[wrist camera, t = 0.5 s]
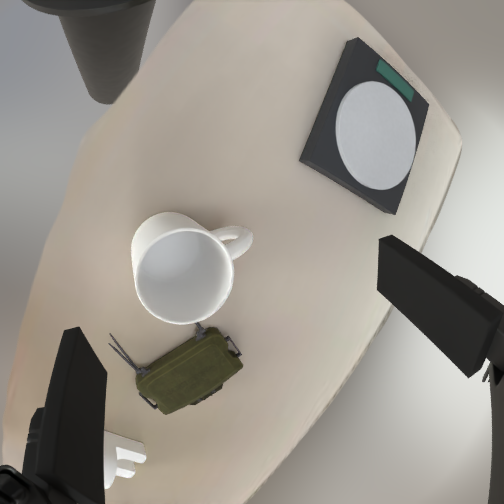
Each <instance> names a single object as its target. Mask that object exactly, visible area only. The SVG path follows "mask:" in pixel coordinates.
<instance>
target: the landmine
mask: <svg viewBox="0 0 504 504" xmlns="http://www.w3.org/2000/svg"><path fill="white" fill-rule="evenodd" d="M195 324H196V325H197V326H198V328H199V329H200V330H199V331H198V332H197V336H195V337H194V338H192V339H190V340H189V341H187V342H186V343H184V344H183V345H181V346H179V347H178V348H176V349H175V350H173V351H172V352H170V353H168V354H167V355H165V356H164V357H162V358H160V359H159V360H157V361H156V362H154V363H152V364H151V365H150V366H148V367H147V368H144V367H142V368H139V369H138V367H137V366H136V365H135V364H134V363H133V361H132V360H131V359H130V358H129V357H128V355H127V354H126V353H125V352H124V350H123V349H122V348H121V346H120V345H119V344H118V343H117V341H116V340H115V339H114V337H113V336H112V335H111V334H110V336H111V337H112V339H113V340H114V341H115V343H116V344H117V346H118V347H119V348H120V350H121V351H122V352H123V354H124V355H125V356H126V357H127V358H128V360H129V361H130V362H131V363H132V364H131V363H130V362H129V361H128V360H127V359H126V358H125V357H124V356H123V355H122V354H121V353H120V352H119V351H118V350H117V349H116V348H115V347H113V346H112V345H111V344H110V343H108V344H109V345H110V346H111V347H112V348H113V349H114V350H115V351H116V352H117V353H118V354H119V355H120V356H121V357H122V358H123V359H124V360H125V361H126V362H127V363H128V364H129V365H130V366H131V367H132V368H133V369H134V370H135V371H136V373H137V376H136V385H137V389H138V390H139V391H140V392H139V395H140V396H141V397H142V398H143V399H144V400H145V401H146V402H147V403H148V404H149V405H150V406H151V407H153V408H154V409H157V408H158V409H159V410H160V411H161V412H162V413H163V414H165V415H167V414H170V413H172V412H174V411H176V410H179V409H181V408H183V407H185V406H187V405H196V404H198V403H199V402H201V401H202V400H205V399H206V398H208V397H209V396H212V394H214V393H216V392H217V391H219V390H220V389H222V386H223V383H224V382H225V381H227V380H228V379H229V378H230V377H232V376H233V375H234V374H236V373H237V372H238V371H239V370H240V369H242V368H243V364H242V363H241V361H240V360H239V358H238V357H239V356H241V355H242V354H241V353H240V351H239V350H238V348H237V347H236V346H235V344H234V343H233V341H232V340H231V338H230V337H229V336H227V337H226V338H224V337H223V336H222V334H221V333H220V332H219V330H218V329H217V328H213V327H212V328H208V329H206V330H205V329H204V328H202V327H201V326H200V324H199V323H198V322H197V323H195ZM199 326H200V327H199ZM229 340H230V341H231V342H232V343H233V345H234V346H235V348H236V349H237V351H238V353H237V354H235V352H233V351H228V343H227V341H229ZM147 398H151V399H153V400H154V401H155V402H156V403H157V404H156V405H153V404H152V403H151V402H150V401H149V400H148V399H147Z"/></svg>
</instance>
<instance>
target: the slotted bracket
mask: <svg viewBox="0 0 504 504" xmlns="http://www.w3.org/2000/svg"><path fill="white" fill-rule="evenodd" d="M145 460H146V453H145V448H144V444H143V443H141V442H138V441H135V440H131V439H128V438H125V437H122V436H119V435H116V434H113V433H110V432H108V431H105V430H104V489H108V488H109V487H110V486H111V485H112V483H113V481H114V478H115V475H117V476H121V477H125V478H131V477H132V476H133V475H134V474H135V473H136V471H135V466H134V462H138V463H142V464H143V462H144V461H145Z"/></svg>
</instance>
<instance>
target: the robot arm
mask: <svg viewBox="0 0 504 504" xmlns="http://www.w3.org/2000/svg"><path fill="white" fill-rule="evenodd" d="M377 290H378V291H379V292H380V293H381V294H382V295H383V296H384V297H385V298H386V299H387V300H389V301H390V302H391V303H392V304H393V305H394V306H395V307H396V308H397V309H398V310H399V311H400V312H401V313H402V314H404V315H405V316H406V317H407V318H408V319H409V320H410V321H411V322H412V323H413V324H414V325H415V326H416V327H417V328H418V329H419V330H420V331H421V332H422V333H424V335H426V336H427V337H428V338H429V339H430V340H431V341H432V342H433V343H434V344H435V345H436V346H437V347H438V348H439V349H440V350H441V351H442V352H443V353H444V354H445V355H446V356H447V357H448V358H449V359H450V360H451V361H452V362H453V363H454V364H455V365H456V366H457V367H458V368H459V369H460V370H461V371H462V372H463V373H464V374H465V375H466V376H467V377H468V378H469V377H471V376H472V375H474V374H475V373H476V372H478V371H479V370H480V369H481V368H482V365H483V363H484V361H485V359H486V358H487V359H488V360H489V361H490V364H489V366H488V368H487V370H486V372H485V374H484V377H483V380H482V382H485V380H486V378H487V376H488V374H489V381H488V382H490V391H491V407H492V462H491V478H490V490H489V499H488V504H504V305H502V304H501V303H500V302H498V301H497V300H496V299H494V298H493V297H492V296H490V295H489V294H487V293H485V292H484V290H482V289H481V288H478V287H477V285H475V284H474V283H472V282H471V281H470V280H468V279H465V278H463V277H460V276H455V277H454V276H453V275H452V274H450V273H449V272H447V271H446V270H445V269H443V268H442V267H440V266H439V265H437V264H436V263H434V262H433V261H431V260H430V259H428V258H427V257H425V256H424V255H423V254H421V253H420V252H418V251H416V250H415V249H413V248H412V247H410V246H409V245H407V244H406V243H404V242H403V241H401V240H400V239H398V238H396V237H395V236H393V235H390V236H386V237H383V238H380V239H379V255H378V280H377ZM106 385H107V371H106V370H105V368H104V367H103V365H102V364H101V362H100V360H99V359H98V357H97V356H96V354H95V352H94V351H93V349H92V347H91V346H90V344H89V342H88V341H87V339H86V337H85V336H84V334H83V332H82V330H81V329H80V327H75V328H72V329H68V330H64V333H63V336H62V339H61V343H60V346H59V350H58V353H57V357H56V360H55V364H54V368H53V372H52V376H51V380H50V384H49V388H48V393H47V397H46V402H45V407H43V408H37V410H36V412H35V414H34V415H33V417H32V419H31V423H30V428H29V434H28V438H27V442H28V443H27V444H26V450H25V456H24V462H23V470H22V474H21V473H19V472H18V471H17V470H16V469H14V468H13V467H11V466H9V465H1V466H0V504H105V492H104V419H105V399H106Z"/></svg>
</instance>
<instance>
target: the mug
mask: <svg viewBox="0 0 504 504" xmlns="http://www.w3.org/2000/svg"><path fill="white" fill-rule="evenodd" d="M227 239H235V240H233V241H232V242H229V243H227V244H224V243H223V242H222V241H224V240H227ZM252 242H253V234H252V232H251V231H250V230H249V229H248V228H246V227H243V226H227V227H222V228H218V229H215V230H212V231H208V230H206V229H205V228H204V227H202V226H201V225H199V224H198V223H197V222H195V221H194V220H193V219H191V218H189V217H188V216H186V215H183V214H180V213H176V212H163V213H159V214H156V215H154V216H151V217H150V218H148V219H147V220H146V221H144V222H143V223H142V224H141V225H140V227H139V228H138V229H137V231H136V233H135V235H134V237H133V240H132V245H131V259H132V266H133V274H134V281H135V287H136V291H137V294H138V297H139V299H140V301H141V303H142V304H143V305H144V307H145V308H146V309H147V310H148V311H149V312H150V313H151V314H152V315H154V316H155V317H157V318H158V319H160V320H163V321H165V322H168V323H172V324H191V323H196V322H199V321H201V320H204V319H206V318H208V317H209V316H211V315H212V314H214V313H215V312H216V311H217V310H218V309H219V308H220V307H221V306H222V305H223V304H224V302H225V301H226V299H227V298H228V296H229V294H230V291H231V289H232V285H233V280H234V265H233V261H232V260H234V259H236V258H237V257H239V256H241V255H242V254H243V253H245V252H246V251H247V250H248V249H249V248H250V246H251V245H252Z"/></svg>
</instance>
